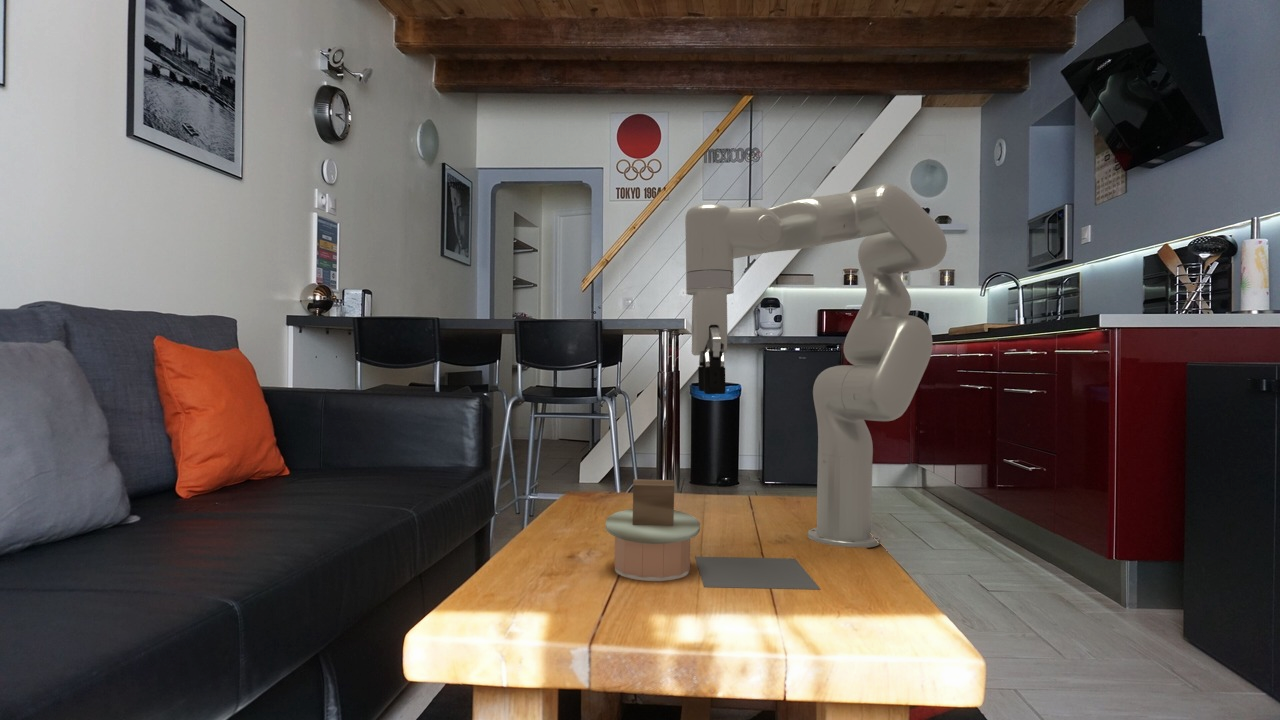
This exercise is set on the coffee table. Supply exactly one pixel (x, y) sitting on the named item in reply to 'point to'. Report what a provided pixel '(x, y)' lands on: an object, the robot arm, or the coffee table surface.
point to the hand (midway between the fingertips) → (711, 392)
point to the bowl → (652, 560)
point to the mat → (754, 573)
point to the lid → (653, 516)
